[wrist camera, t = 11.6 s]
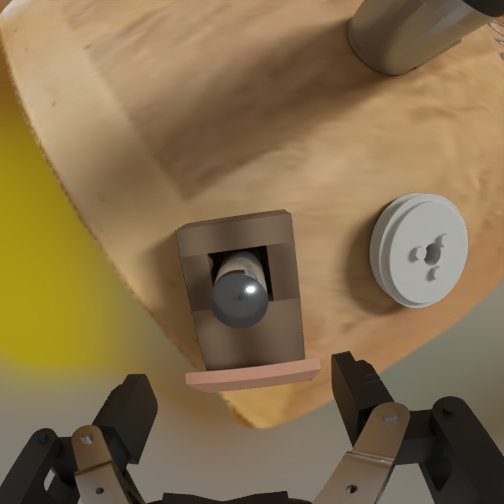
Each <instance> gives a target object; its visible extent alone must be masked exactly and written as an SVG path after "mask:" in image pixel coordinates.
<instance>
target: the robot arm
mask: <svg viewBox="0 0 504 504" xmlns="http://www.w3.org/2000/svg"><path fill="white" fill-rule="evenodd" d="M502 15H504V0H364V1H363V2H362V4H361V5H360V7H359V8H358V10H357V11H356V13H355V14H354V16H353V17H352V19H351V20H350V22H349V24H348V27H347V37H348V41H349V43H350V46H351V47H352V49H353V51H354V52H355V53H356V55H357V56H358V57H359V58H360V59H361V60H362V61H363V62H364V63H366V64H367V65H368V66H370V67H371V68H373V69H375V70H377V71H379V72H381V73H385V74H388V75H401V74H404V73H406V72H408V71H410V70H411V69H413V68H414V67H416V68H419V67H421V66H422V65H424V64H425V63H427V62H429V61H430V60H432V59H434V58H435V57H437V56H439V55H440V54H442V53H444V52H445V51H447V50H449V49H450V48H452V47H454V46H455V45H457V44H459V43H460V42H461V38H463V37H464V36H466V35H468V34H469V33H471V32H473V31H475V30H476V29H478V28H480V27H481V26H483V25H485V24H487V23H489V22H490V21H492V20H494V19H496V18H498V17H500V16H502ZM331 366H332V390H333V395H334V398H335V400H336V403H337V406H338V408H339V411H340V414H341V416H342V419H343V422H344V425H345V428H346V430H347V433H348V436H349V438H350V441H351V444H352V447H353V449H352V451H351V452H346V453H345V455H344V456H343V458H342V459H341V461H340V463H339V464H338V466H337V467H336V469H335V470H334V472H333V474H332V475H331V477H330V478H329V480H328V481H327V483H326V484H325V486H324V487H323V489H322V490H321V491H320V493H319V494H318V496H317V497H316V499H315V500H314V501H313V503H312V502H309V501H305V500H300V499H292V498H288V494H287V491H282V492H273V493H263V494H254V495H250V496H246V497H242V498H237V499H233V500H228V501H216V500H212V499H208V498H203V497H199V496H195V495H187V494H174V493H164V494H163V499H162V500H159V501H154V502H150V503H147V504H378V502H379V500H380V498H381V496H382V494H383V492H384V490H385V487H386V485H387V483H388V481H389V479H390V476H391V474H392V472H393V469H394V467H395V465H402V464H413V463H418V464H419V467H420V469H421V471H422V473H423V476H424V478H425V481H426V483H427V485H428V488H429V490H430V493H431V495H432V498H433V500H434V503H435V504H504V456H503V455H502V453H501V452H500V450H499V449H498V447H497V446H496V444H495V443H494V442H493V440H492V439H491V437H490V436H489V434H488V433H487V431H486V430H485V429H484V427H483V426H482V424H481V423H480V421H479V420H478V419H477V417H476V416H475V415H474V413H473V412H472V411H471V409H470V408H469V406H468V405H467V404H466V403H465V402H464V401H463V400H462V399H460V398H458V397H453V396H448V397H444V398H441V399H439V400H438V401H436V402H435V404H434V405H433V408H432V409H431V410H421V411H409V410H408V408H407V407H406V406H404V405H403V404H400V403H396V402H394V400H393V398H392V397H391V395H390V394H389V392H388V390H387V389H386V387H385V385H384V384H383V382H382V381H381V380H380V377H379V376H378V374H377V373H376V371H375V369H374V368H373V366H372V365H371V364H369V363H367V362H366V361H364V360H360V361H355V360H354V358H353V356H352V354H351V353H350V351H347V352H343V353H338V354H333V355H332V357H331ZM157 410H158V405H157V400H156V398H155V395H154V393H153V390H152V388H151V385H150V383H149V380H148V378H147V376H146V375H145V374H129V375H128V376H127V377H126V379H125V381H124V382H123V384H122V385H119V386H117V387H116V388H115V389H114V390H113V391H111V393H110V395H109V396H108V399H107V400H106V401H105V403H104V406H102V408H101V409H100V411H99V413H98V415H97V416H96V418H95V419H94V421H93V423H92V425H85V426H82V427H80V428H78V429H77V430H76V431H75V432H74V433H73V434H72V437H58V436H57V435H56V433H55V432H54V431H53V430H52V429H49V428H43V429H40V430H38V431H36V432H35V433H34V434H33V435H32V436H31V438H30V439H29V441H28V443H27V444H26V445H25V447H24V449H23V450H22V452H21V453H20V455H19V456H18V458H17V460H16V461H15V463H14V464H13V466H12V468H11V469H10V471H9V473H8V474H7V476H6V478H5V480H4V481H3V483H2V485H1V486H0V504H77V503H78V501H79V498H80V496H81V499H82V503H83V504H146V503H145V501H144V500H143V498H142V496H141V494H140V493H139V491H138V489H137V487H136V485H135V483H134V481H133V480H132V478H131V476H130V474H129V472H128V470H127V469H126V466H127V464H128V463H130V464H138V463H139V460H140V458H141V455H142V452H143V449H144V447H145V444H146V441H147V438H148V436H149V433H150V430H151V428H152V425H153V422H154V420H155V417H156V414H157ZM50 469H51V470H52V471H53V473H54V474H55V476H54V478H53V480H52V482H51V484H50V486H49V488H48V490H47V491H46V490H45V488H44V480H45V478H46V476H47V474H48V472H49V471H50Z"/></svg>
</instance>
